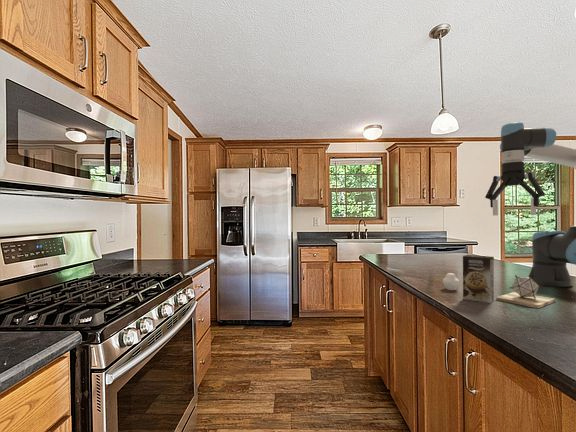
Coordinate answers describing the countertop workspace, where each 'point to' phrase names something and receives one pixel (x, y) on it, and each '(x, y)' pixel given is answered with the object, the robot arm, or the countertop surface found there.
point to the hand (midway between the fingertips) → (513, 215)
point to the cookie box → (478, 278)
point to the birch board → (526, 300)
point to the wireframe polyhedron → (525, 286)
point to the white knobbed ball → (451, 281)
